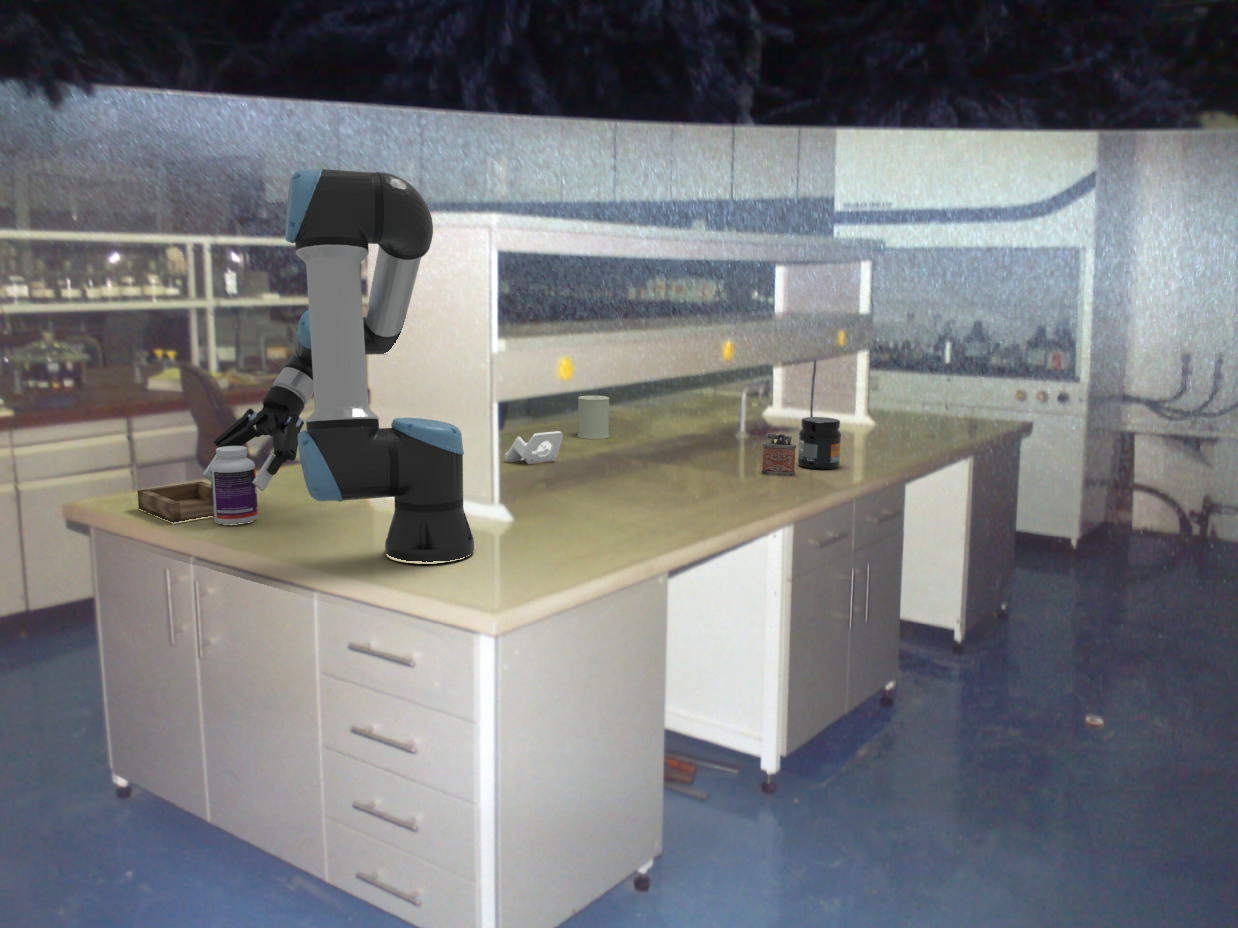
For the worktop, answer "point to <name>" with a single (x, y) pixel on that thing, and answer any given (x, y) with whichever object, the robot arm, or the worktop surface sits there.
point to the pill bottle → (233, 486)
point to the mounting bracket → (536, 448)
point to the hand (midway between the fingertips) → (232, 482)
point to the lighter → (779, 455)
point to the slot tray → (178, 501)
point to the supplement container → (819, 443)
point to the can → (593, 417)
